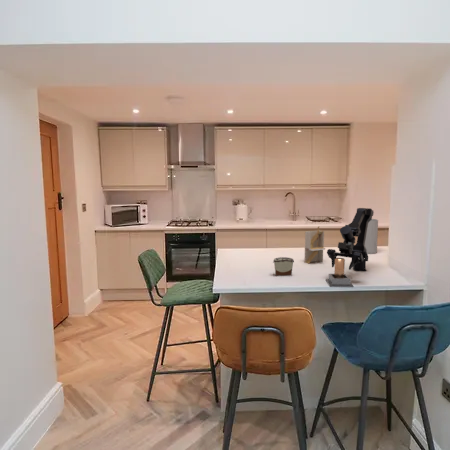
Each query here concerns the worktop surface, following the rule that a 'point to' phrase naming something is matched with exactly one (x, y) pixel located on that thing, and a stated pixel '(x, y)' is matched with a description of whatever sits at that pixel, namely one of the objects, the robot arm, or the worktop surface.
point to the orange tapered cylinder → (339, 267)
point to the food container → (283, 266)
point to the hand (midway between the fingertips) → (340, 268)
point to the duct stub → (339, 281)
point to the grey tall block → (371, 237)
